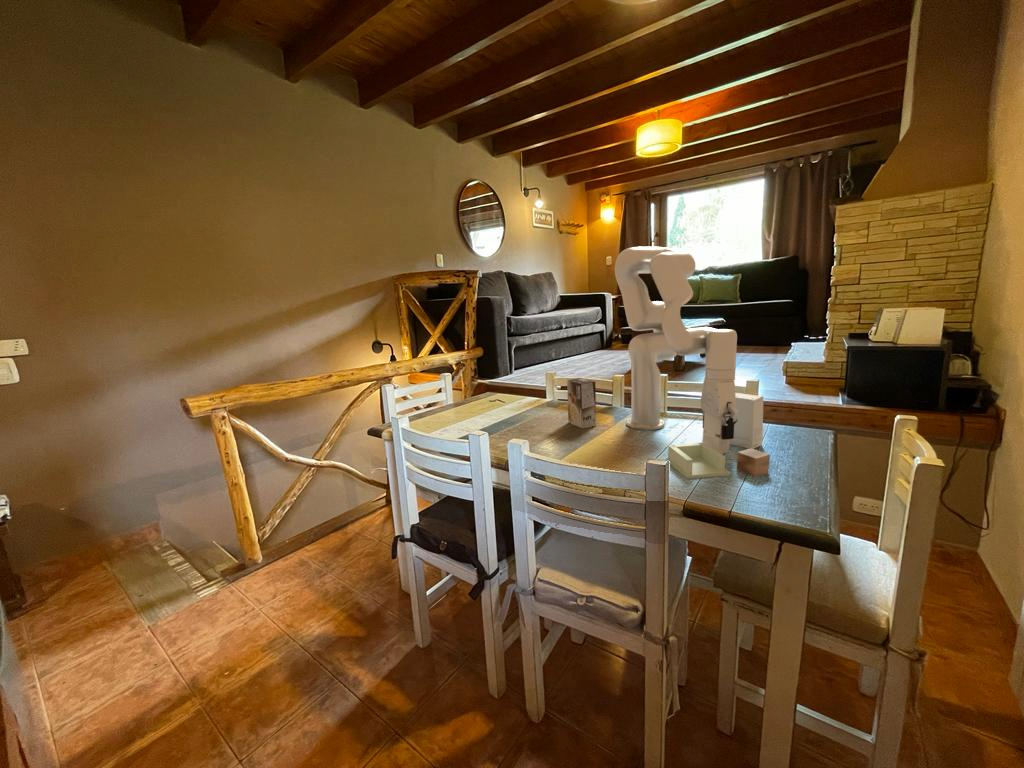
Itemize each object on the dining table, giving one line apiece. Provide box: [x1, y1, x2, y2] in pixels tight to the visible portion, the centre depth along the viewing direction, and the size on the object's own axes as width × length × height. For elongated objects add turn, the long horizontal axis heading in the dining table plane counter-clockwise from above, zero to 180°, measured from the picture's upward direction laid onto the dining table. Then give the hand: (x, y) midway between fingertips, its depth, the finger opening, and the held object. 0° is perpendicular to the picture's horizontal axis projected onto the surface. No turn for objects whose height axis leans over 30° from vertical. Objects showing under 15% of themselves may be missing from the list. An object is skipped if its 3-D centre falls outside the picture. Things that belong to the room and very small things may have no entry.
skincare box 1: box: [701, 412, 730, 455], centre depth 120 cm, size 6×4×12 cm
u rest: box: [665, 442, 731, 479], centre depth 110 cm, size 12×11×4 cm
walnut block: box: [736, 448, 771, 478], centre depth 106 cm, size 5×5×5 cm
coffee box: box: [566, 377, 597, 430], centre depth 149 cm, size 9×6×16 cm
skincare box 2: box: [729, 392, 764, 449], centre depth 123 cm, size 8×6×15 cm
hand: (717, 433), depth 120 cm, fingers open, 9 cm apart
